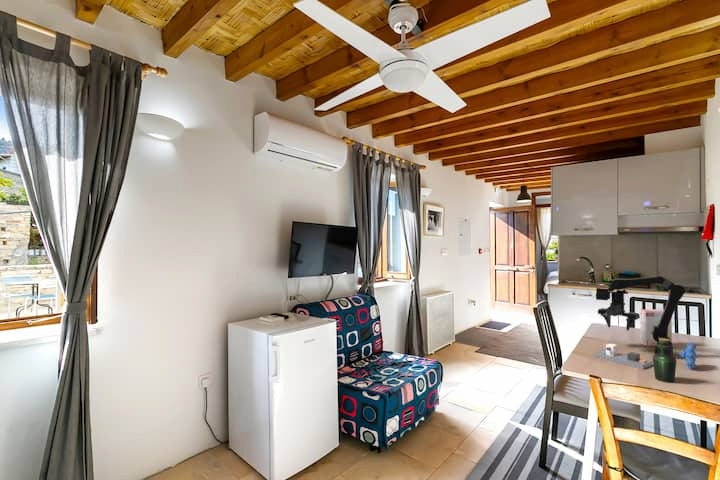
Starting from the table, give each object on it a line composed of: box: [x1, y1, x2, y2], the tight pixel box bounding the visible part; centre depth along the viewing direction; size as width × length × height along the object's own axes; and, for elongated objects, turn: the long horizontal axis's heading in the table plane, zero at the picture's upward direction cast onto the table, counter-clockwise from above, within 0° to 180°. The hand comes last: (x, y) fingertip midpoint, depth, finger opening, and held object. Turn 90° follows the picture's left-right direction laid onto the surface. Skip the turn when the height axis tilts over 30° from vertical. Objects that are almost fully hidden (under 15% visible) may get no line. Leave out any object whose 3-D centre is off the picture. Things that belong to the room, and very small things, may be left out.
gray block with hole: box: [593, 349, 654, 370], centre depth 184 cm, size 22×10×5 cm, turn 29°
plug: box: [605, 343, 619, 357], centre depth 188 cm, size 4×6×7 cm, turn 120°
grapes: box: [678, 342, 699, 370], centre depth 174 cm, size 12×7×12 cm, turn 135°
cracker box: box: [639, 308, 673, 348], centre depth 209 cm, size 14×6×21 cm, turn 84°
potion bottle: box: [652, 338, 678, 383], centre depth 159 cm, size 8×8×18 cm
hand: (618, 328), depth 201 cm, fingers open, 9 cm apart
